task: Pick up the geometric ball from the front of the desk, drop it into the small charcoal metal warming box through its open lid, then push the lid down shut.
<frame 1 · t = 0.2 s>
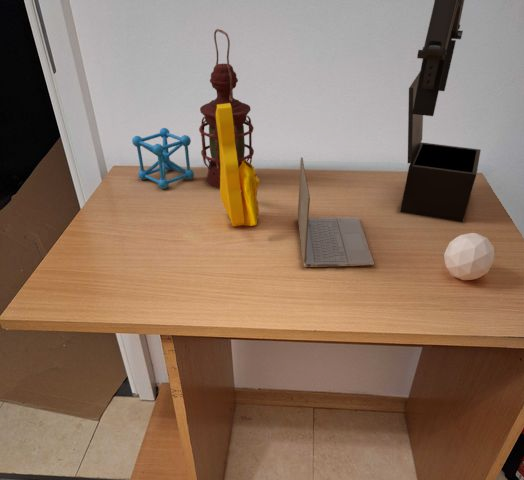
hand: (429, 101, 69), 26 cm above the table, tool pointing down, fingers open, 13 cm apart
warming box: (434, 202, 105), on the table
molecular structure: (166, 180, 115), on the table
geometric ball: (462, 276, 83), on the table
oven lid: (416, 116, 96), point 17 cm above the table, hinge at 100.0°
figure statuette: (240, 221, 99), on the table
lantern: (229, 180, 115), on the table
laptop: (332, 243, 92), on the table
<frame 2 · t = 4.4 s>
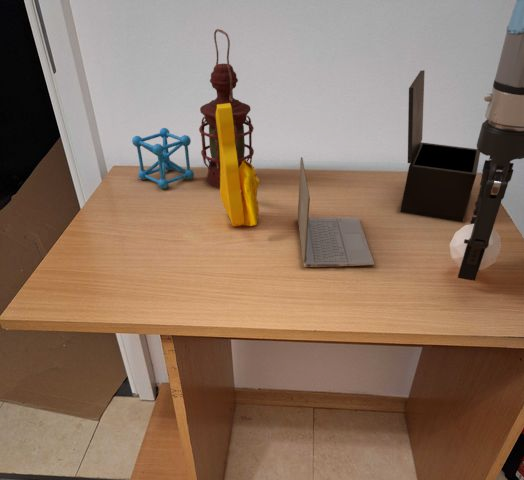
hand: (468, 265, 82), 2 cm above the table, tool pointing down, fingers closed on geometric ball, 8 cm apart
geometric ball: (468, 267, 82), point 2 cm above the table, touching gripper
everything else where it was.
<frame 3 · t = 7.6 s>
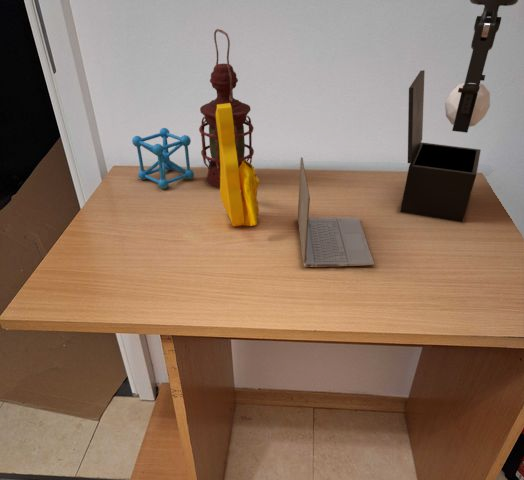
hand: (461, 124, 92), 17 cm above the table, tool pointing down, fingers closed on geometric ball, 8 cm apart
geometric ball: (461, 127, 93), point 16 cm above the table, touching gripper
everything else where it was.
when the fingers open (6 cm above the table, at t = 10.9 s): geometric ball stays where it is, resting on warming box.
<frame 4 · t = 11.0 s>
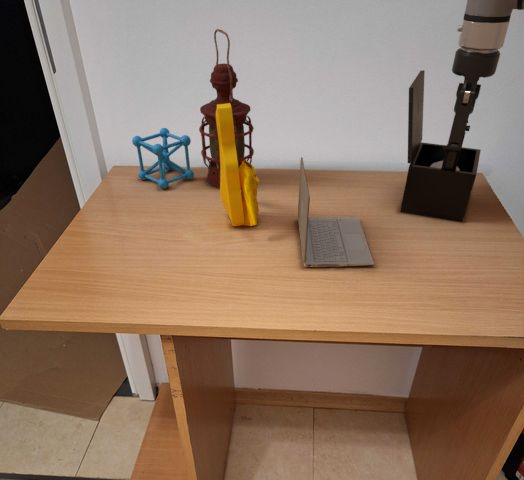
hand: (448, 172, 100), 7 cm above the table, tool pointing down, fingers open, 10 cm apart
geometric ball: (439, 198, 105), point 1 cm above the table, touching warming box
everything else where it was.
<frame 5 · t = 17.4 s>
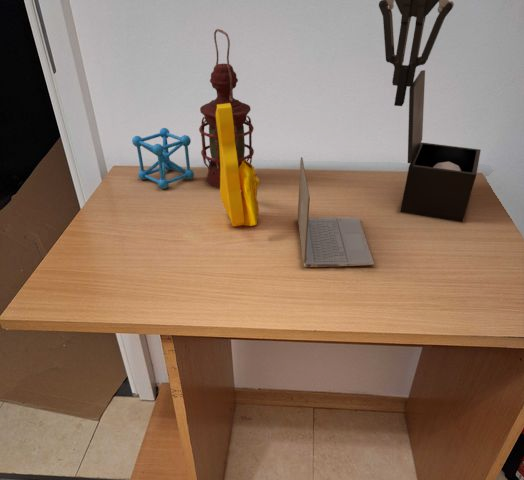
hand: (399, 104, 96), 19 cm above the table, tool pointing down, fingers closed
oven lid: (416, 116, 96), point 17 cm above the table, hinge at 99.5°, touching gripper
everything else where it was.
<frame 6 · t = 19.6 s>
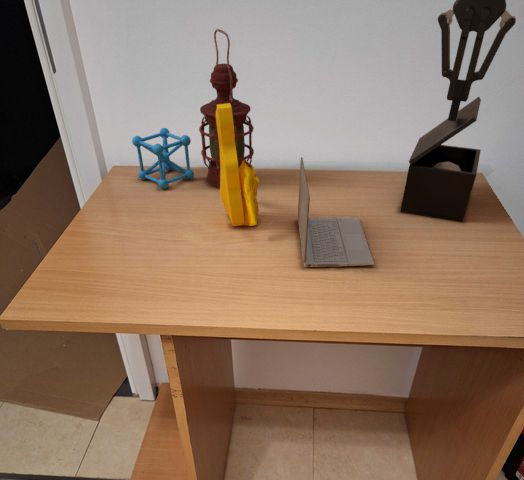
hand: (452, 118, 94), 17 cm above the table, tool pointing down, fingers closed
oven lid: (445, 130, 95), point 15 cm above the table, hinge at 43.2°, touching gripper
everything else where it was.
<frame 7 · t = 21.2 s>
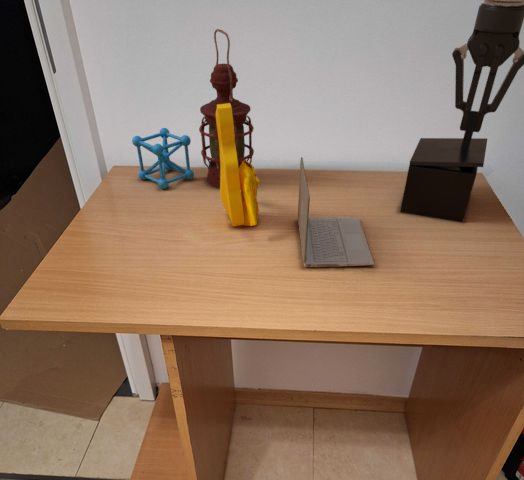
hand: (464, 147, 96), 12 cm above the table, tool pointing down, fingers closed
oven lid: (449, 151, 97), point 11 cm above the table, hinge at 6.2°, touching gripper
everything else where it was.
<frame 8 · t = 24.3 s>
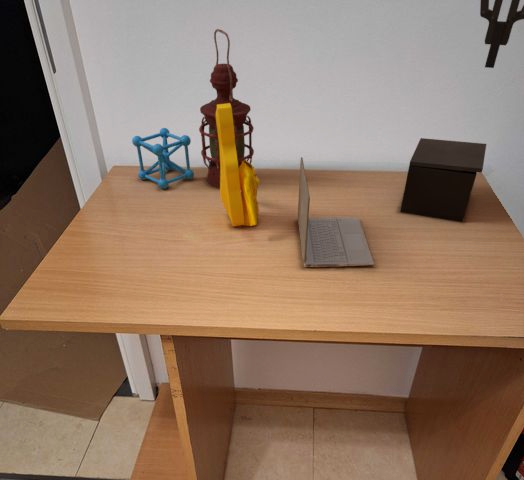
hand: (489, 65, 86), 26 cm above the table, tool pointing down, fingers closed
oven lid: (449, 154, 98), point 10 cm above the table, hinge at 1.7°
everything else where it was.
at the end: geometric ball inside the target area in the warming box (1.1 cm from its centre), point 0.6 cm above the warming box's base; oven lid at +2° (first picture: +100°) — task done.
